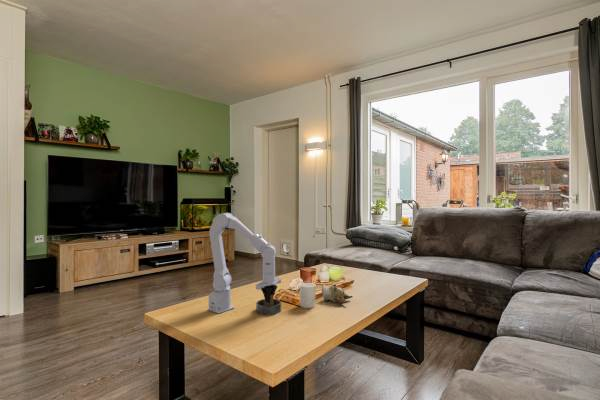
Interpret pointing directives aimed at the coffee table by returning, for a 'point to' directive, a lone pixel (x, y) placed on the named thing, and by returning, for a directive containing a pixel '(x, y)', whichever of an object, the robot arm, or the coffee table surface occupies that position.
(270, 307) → the candle tin
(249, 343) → the coffee table surface
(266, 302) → the wood wick
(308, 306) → the white cup
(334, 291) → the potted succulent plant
